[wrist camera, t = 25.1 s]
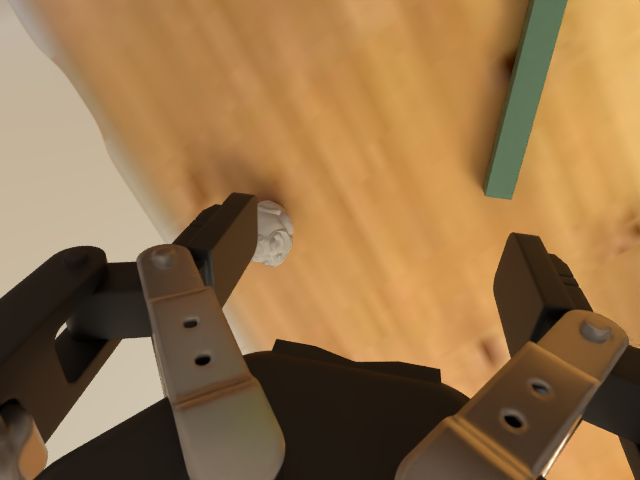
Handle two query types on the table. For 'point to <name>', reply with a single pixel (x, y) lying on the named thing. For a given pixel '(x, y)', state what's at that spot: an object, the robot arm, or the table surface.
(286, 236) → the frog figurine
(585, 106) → the table surface
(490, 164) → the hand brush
